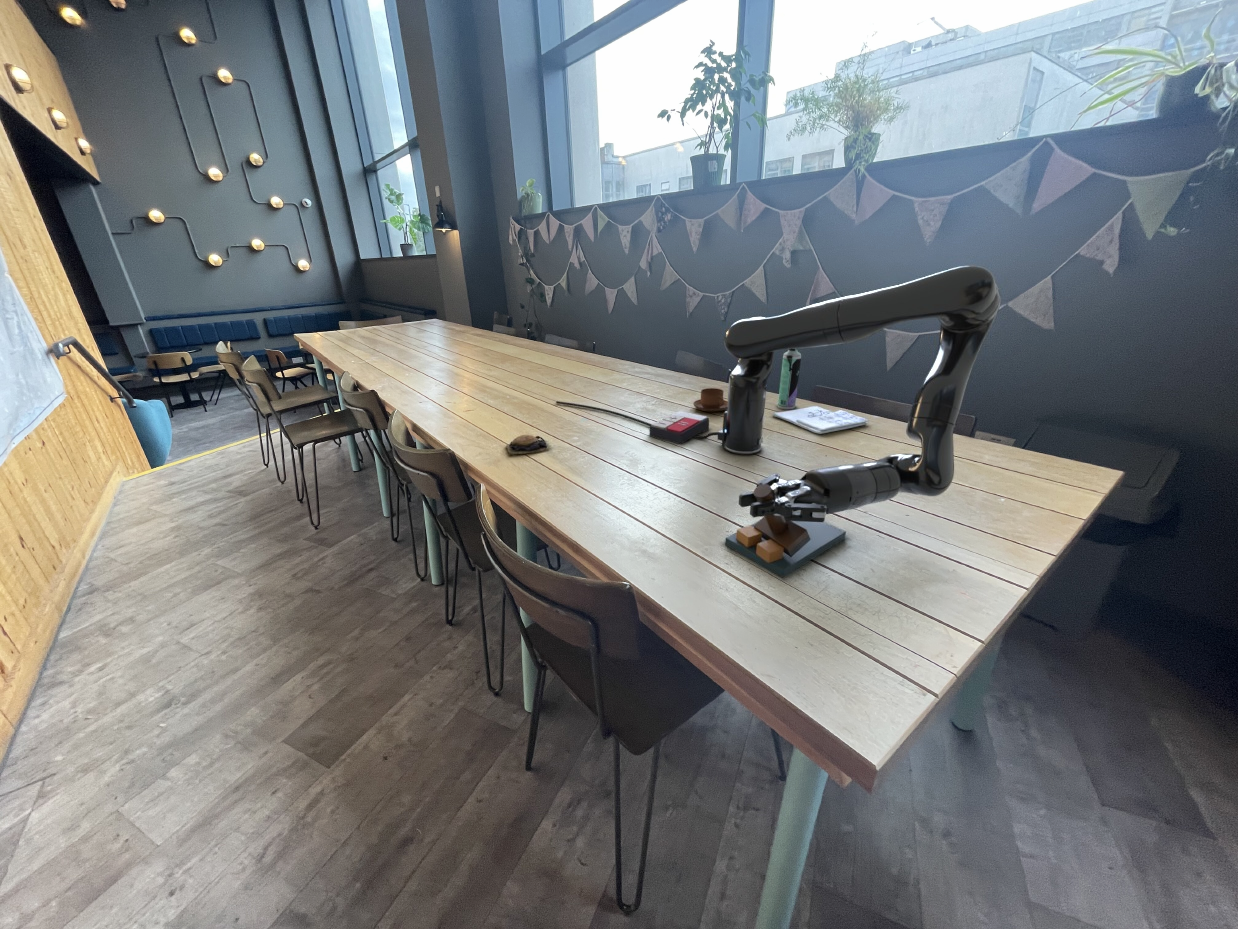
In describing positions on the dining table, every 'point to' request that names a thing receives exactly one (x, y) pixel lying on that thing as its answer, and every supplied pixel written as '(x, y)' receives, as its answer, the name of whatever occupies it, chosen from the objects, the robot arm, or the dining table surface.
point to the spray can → (789, 379)
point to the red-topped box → (679, 427)
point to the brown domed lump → (526, 445)
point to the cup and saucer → (711, 400)
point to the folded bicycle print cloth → (821, 419)
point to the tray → (820, 541)
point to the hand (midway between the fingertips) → (746, 505)
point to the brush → (779, 526)
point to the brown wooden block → (749, 536)
